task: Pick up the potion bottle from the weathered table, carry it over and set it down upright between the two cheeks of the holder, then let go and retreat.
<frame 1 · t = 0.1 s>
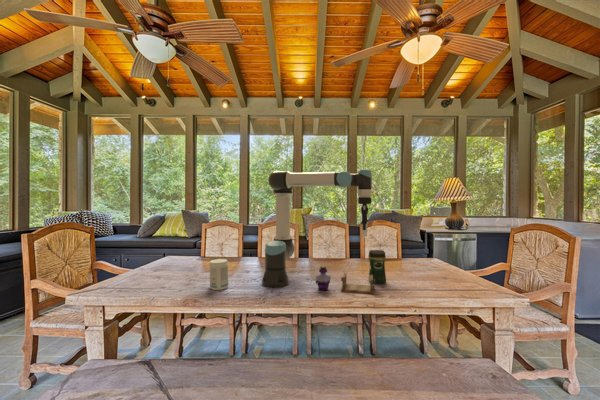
hand: (364, 234, 158), 28 cm above the table, fingers open, 13 cm apart
coffee jar: (377, 282, 160), on the table
holder: (357, 289, 147), on the table
supplement tub: (219, 288, 150), on the table
potion bottle: (323, 289, 147), on the table
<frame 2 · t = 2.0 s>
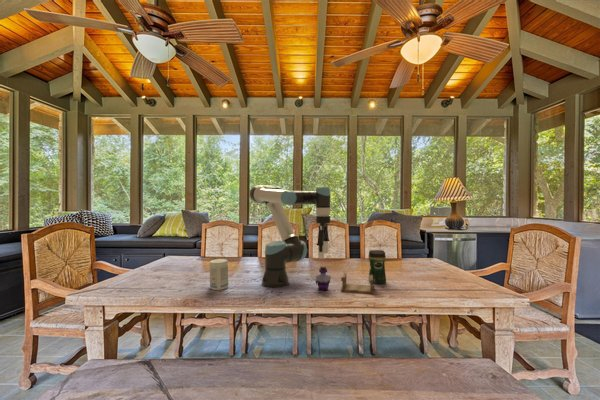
hand: (323, 255, 147), 18 cm above the table, fingers open, 13 cm apart
nothing on the table moved.
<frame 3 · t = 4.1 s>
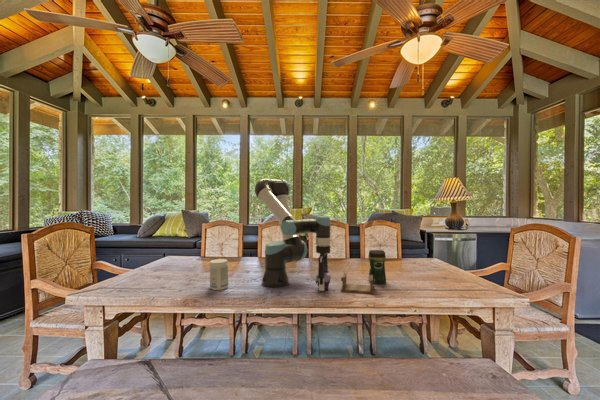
hand: (323, 287, 147), 1 cm above the table, fingers closed on potion bottle, 8 cm apart
potion bottle: (323, 289, 147), on the table, touching gripper
everything else where it was.
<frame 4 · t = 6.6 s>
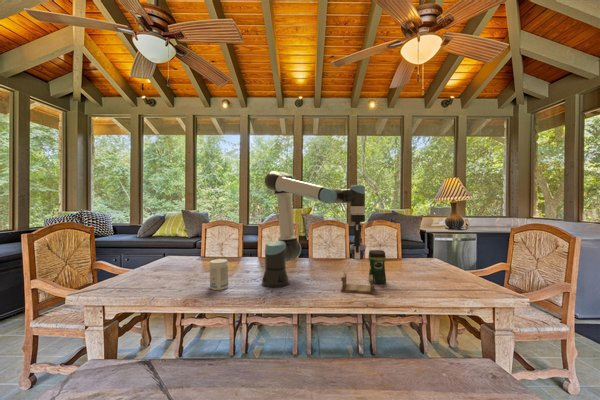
hand: (357, 256, 146), 17 cm above the table, fingers closed on potion bottle, 8 cm apart
potion bottle: (357, 258, 146), point 16 cm above the table, touching gripper
everything else where it was.
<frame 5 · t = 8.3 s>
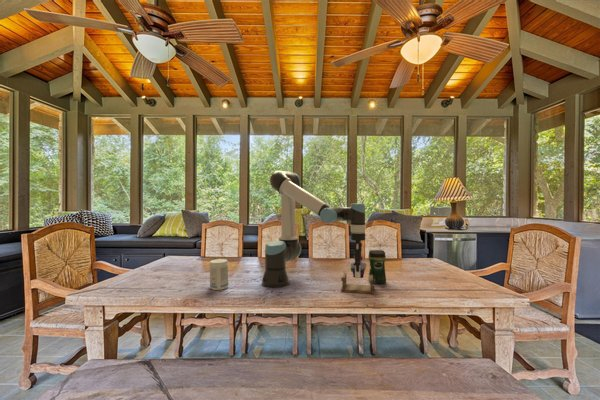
hand: (358, 275, 147), 8 cm above the table, fingers closed on potion bottle, 8 cm apart
potion bottle: (358, 277, 147), point 7 cm above the table, touching gripper
everything else where it was.
when the fingers open (3 cm above the table, at t = 9.6 s): potion bottle drops 1 cm, resting on holder.
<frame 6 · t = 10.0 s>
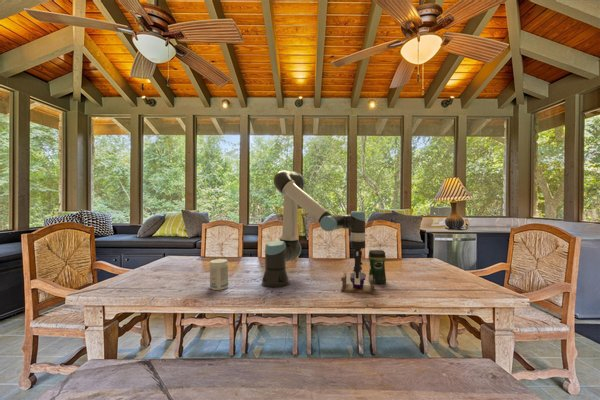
hand: (357, 280, 147), 5 cm above the table, fingers open, 13 cm apart
potion bottle: (357, 287, 147), point 1 cm above the table, touching holder
everything else where it was.
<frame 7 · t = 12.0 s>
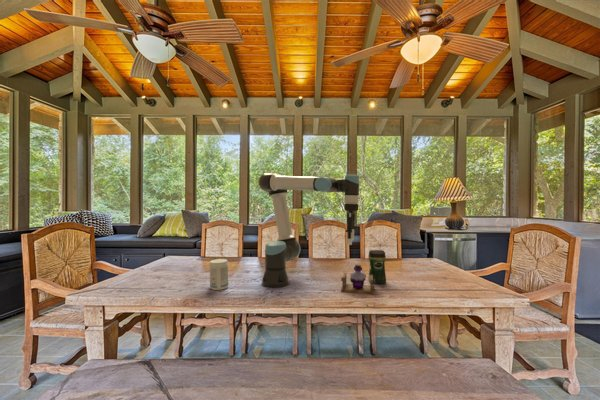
hand: (350, 242, 150), 24 cm above the table, fingers open, 13 cm apart
nothing on the table moved.
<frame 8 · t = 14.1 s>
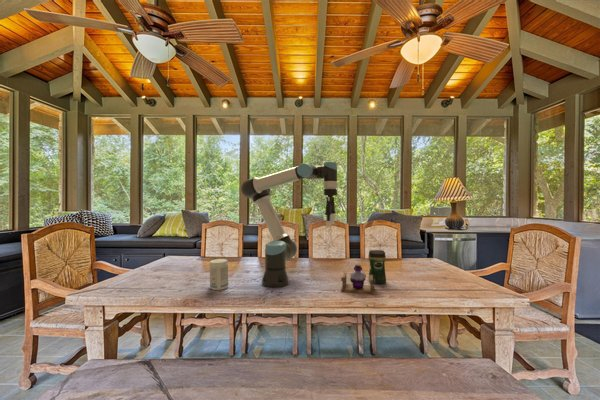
hand: (330, 225, 159), 33 cm above the table, fingers open, 13 cm apart
nothing on the table moved.
at the end: potion bottle inside the target area on the holder (0.0 cm from its centre), point 1.0 cm above the holder's base; potion bottle tilted 0°; the gripper is holding nothing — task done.
